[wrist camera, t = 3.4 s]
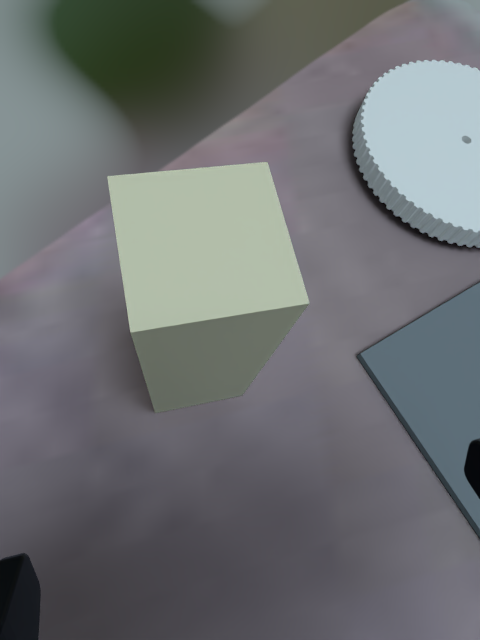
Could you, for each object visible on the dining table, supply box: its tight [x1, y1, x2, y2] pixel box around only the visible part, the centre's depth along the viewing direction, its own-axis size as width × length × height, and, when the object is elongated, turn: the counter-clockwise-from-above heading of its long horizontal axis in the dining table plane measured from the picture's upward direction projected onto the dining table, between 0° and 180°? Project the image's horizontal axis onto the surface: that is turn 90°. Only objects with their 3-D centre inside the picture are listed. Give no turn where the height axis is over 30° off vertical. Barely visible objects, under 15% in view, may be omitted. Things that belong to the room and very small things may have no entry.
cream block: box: [107, 162, 309, 413], centre depth 17 cm, size 4×4×12 cm
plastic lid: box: [352, 60, 480, 248], centre depth 29 cm, size 14×14×2 cm
